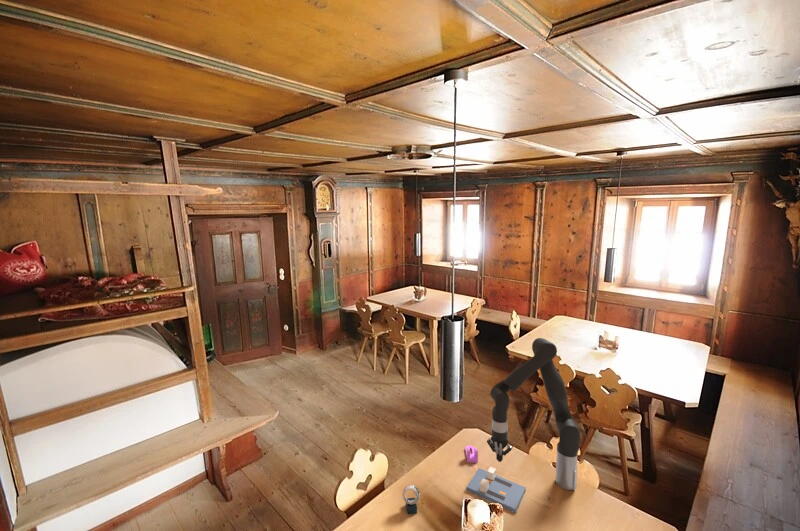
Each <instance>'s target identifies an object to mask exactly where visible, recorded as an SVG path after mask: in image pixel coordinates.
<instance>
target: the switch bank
mask: <svg viewBox="0 0 800 531" xmlns="http://www.w3.org/2000/svg"><path fill="white" fill-rule="evenodd" d="M487 472H488V470H485V469H483V468H481V467H479V468H478V469H477V470H476V472H475V473H474V475H473V476H472V477H471V479H470V480H469V482H468V484H467V485H466V487H465V490H466V492H469V493H471V494H473V495H475V496H477V497H480V498H482V499H483V500H485V501H488V502H491V503H492V502H493V503H492V504H494V503H499V504H501V505H502V506H503V507H502V509H506V510H508V511H510V512H512V513H514V514H517V511H518V509H519V507H520V504H521V503H522V500H523V498H524V496H525V494H526V490H527V488H526V486H523V485H521V484H519V483H516V482H514V481H511V480H509V479H507V478H504V477H502V476H499V475H497V474H496V477H495V478H494V480H490V479H488V478H487ZM482 479H486V480H488V481H489V489H488V490H487V492H486V493H484V492H482V491H480V482H481V481H482Z"/></svg>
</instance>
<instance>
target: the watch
mask: <svg viewBox="0 0 800 531" xmlns="http://www.w3.org/2000/svg"><path fill="white" fill-rule="evenodd" d="M410 490H412V491H413V494H414V495H415V497H410V498H409V497H407V496H406V495H405V494H406V492H408V491H410ZM402 498H403V501H404V502H405V508H406V513H407V515H413V514H418V505H417V504H418V502H419V500H420V499H421V492H420V490H419V489H418V486H416V484H415V485H414V484H409V485H407V486H405V487H404V488H403V491H402Z"/></svg>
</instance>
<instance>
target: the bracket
mask: <svg viewBox="0 0 800 531" xmlns="http://www.w3.org/2000/svg"><path fill="white" fill-rule="evenodd" d="M470 449H471V450H470ZM465 451H466V452H465ZM464 452H465V456H466V461H467V463H473V464H474V463H479V451H478V448H477V447H475V446H473V445H470V444H469V445H466V446H465V448H464Z"/></svg>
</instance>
